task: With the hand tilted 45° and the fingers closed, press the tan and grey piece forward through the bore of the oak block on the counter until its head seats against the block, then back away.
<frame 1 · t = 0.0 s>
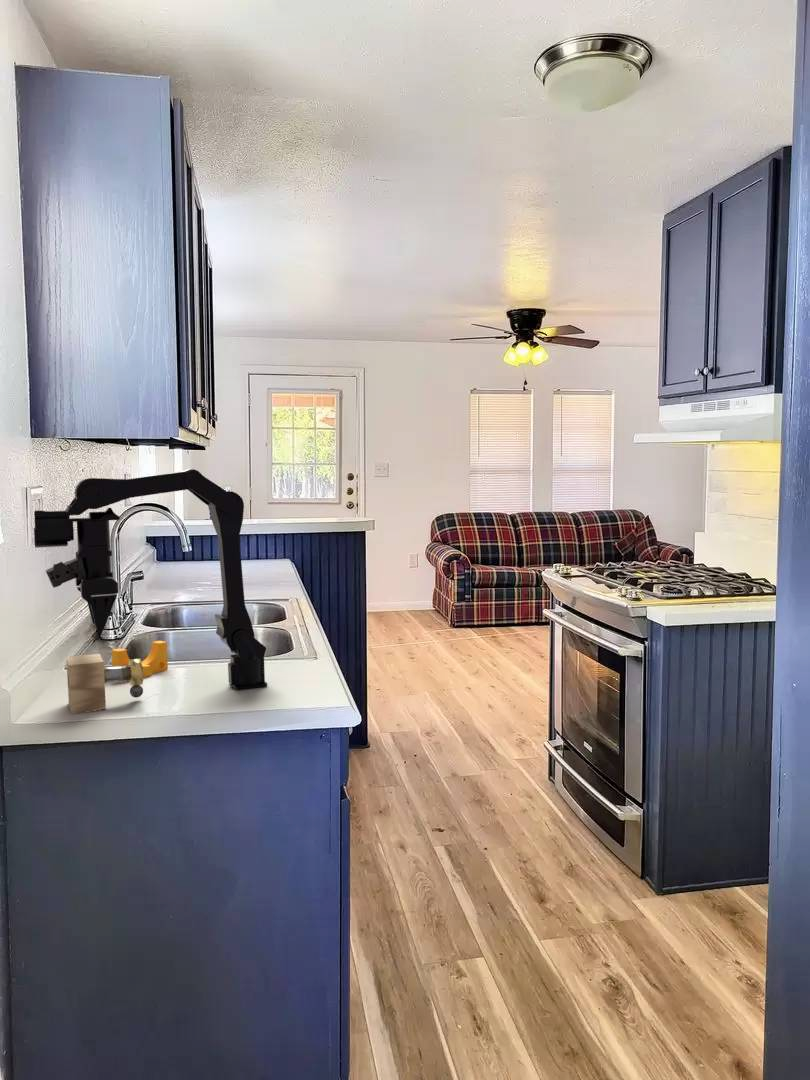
hand: (97, 627, 158), 15 cm above the counter, tool pointing down, fingers open, 9 cm apart
oak block: (87, 706, 157), on the counter
pipe clamp: (143, 676, 182), on the counter
tan and grey piece: (115, 680, 159), point 4 cm above the counter, slide at 0.0 cm
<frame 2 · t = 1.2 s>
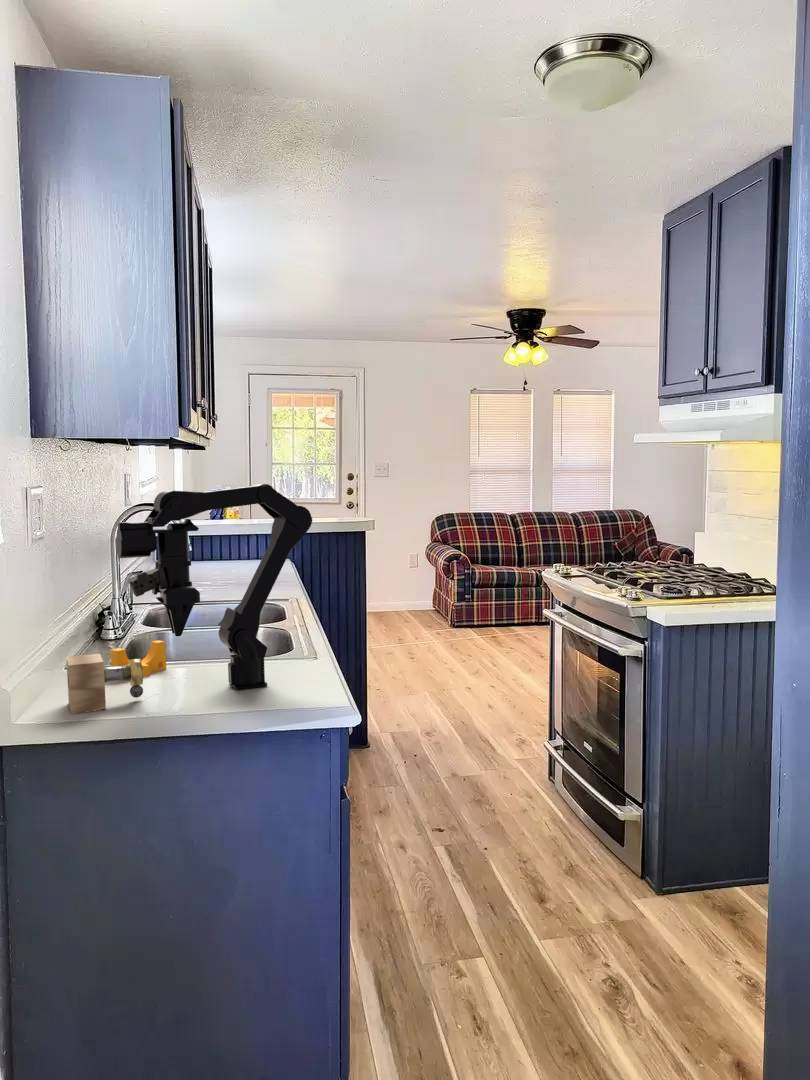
hand: (176, 634, 163), 12 cm above the counter, tool pointing down, fingers open, 3 cm apart
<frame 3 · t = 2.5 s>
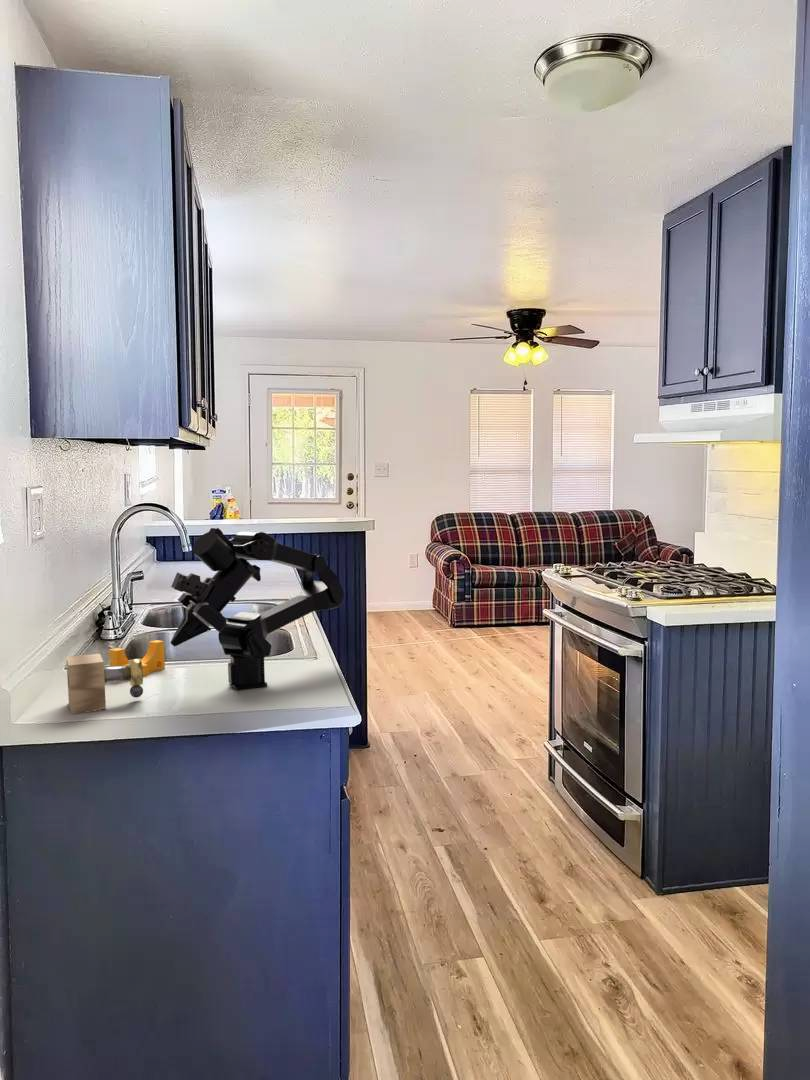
hand: (172, 644, 163), 10 cm above the counter, tool tilted 45°, fingers closed
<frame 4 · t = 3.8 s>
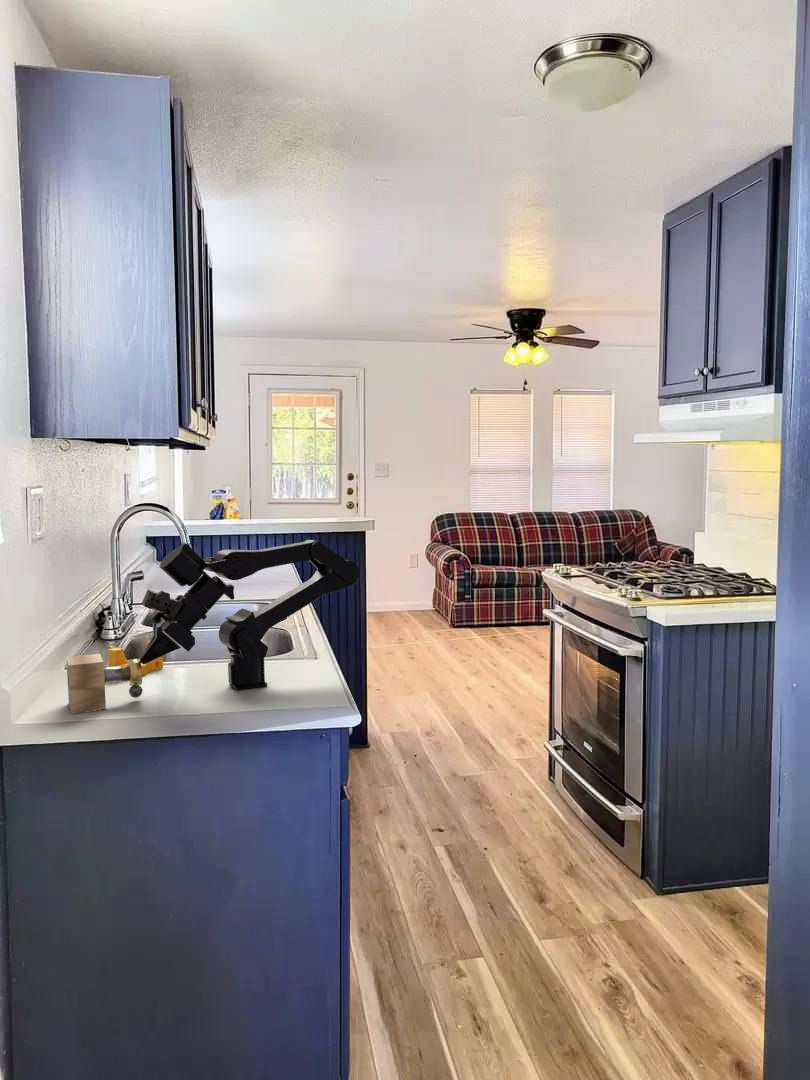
hand: (141, 662, 161), 7 cm above the counter, tool tilted 45°, fingers closed, pressing on tan and grey piece
tan and grey piece: (115, 680, 159), point 4 cm above the counter, slide at 0.2 cm, touching gripper
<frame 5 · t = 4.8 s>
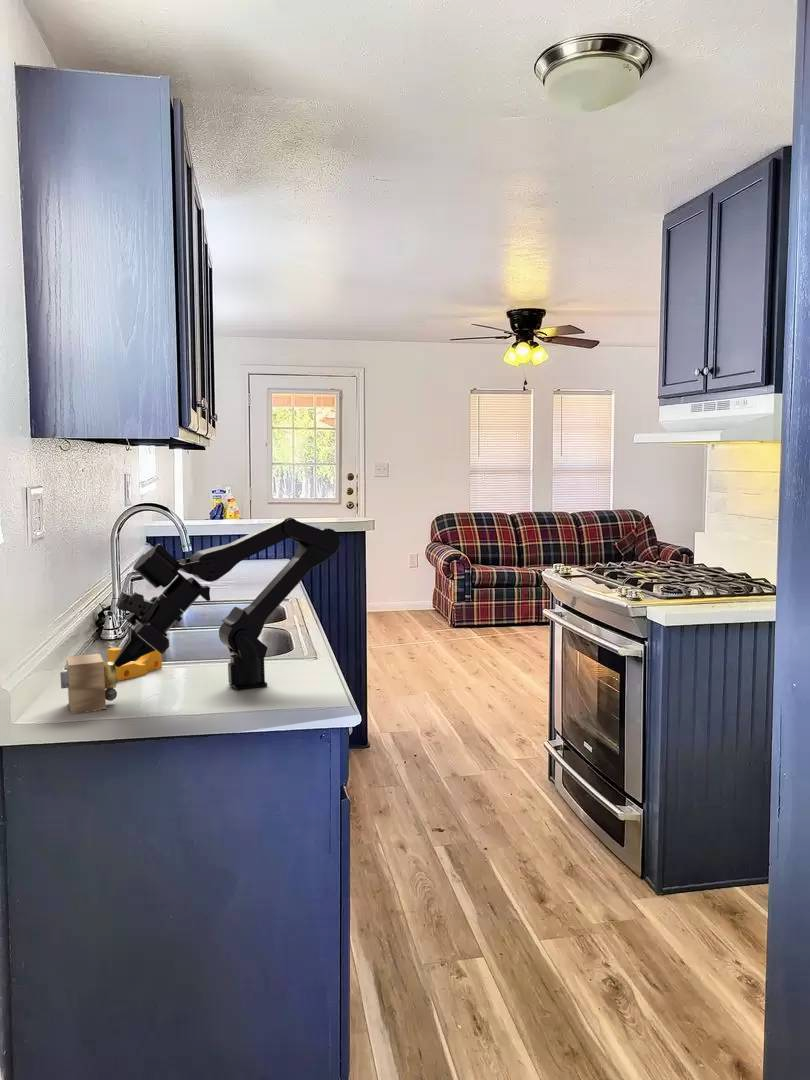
hand: (115, 665, 159), 7 cm above the counter, tool tilted 45°, fingers closed, pressing on tan and grey piece
tan and grey piece: (89, 683, 157), point 4 cm above the counter, slide at 4.8 cm, touching gripper, oak block
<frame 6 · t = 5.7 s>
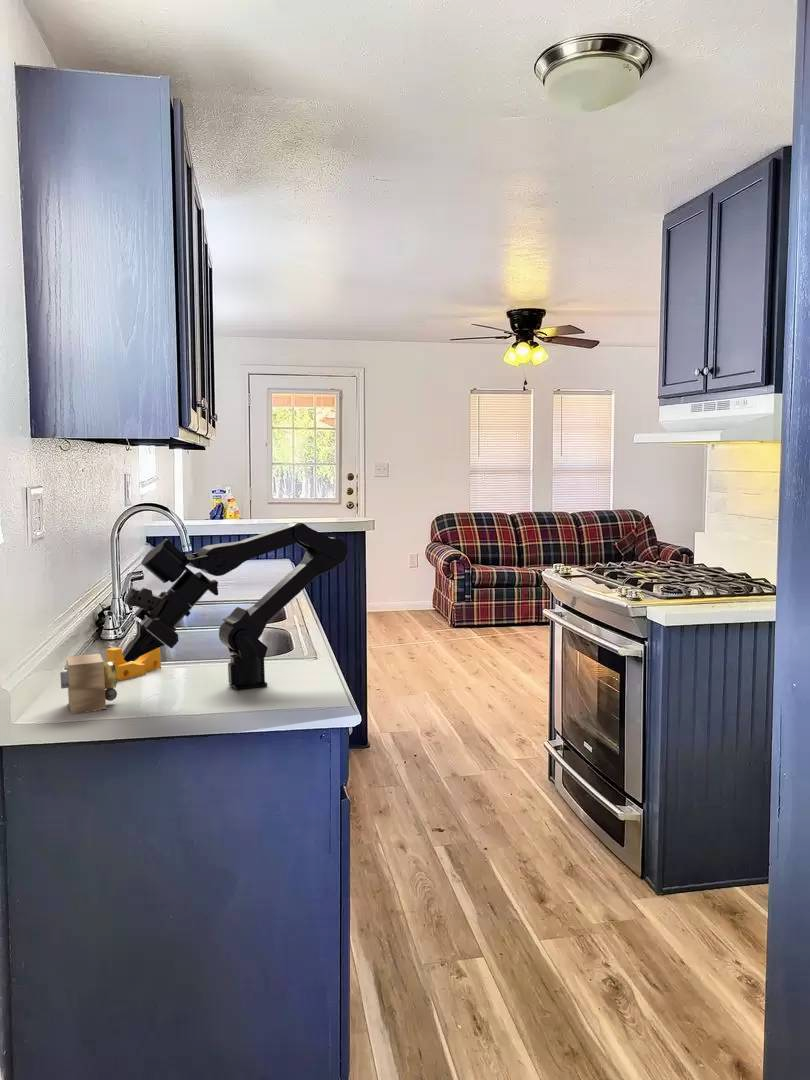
hand: (125, 660, 159), 8 cm above the counter, tool tilted 45°, fingers closed
tan and grey piece: (89, 683, 157), point 4 cm above the counter, slide at 4.8 cm, touching oak block
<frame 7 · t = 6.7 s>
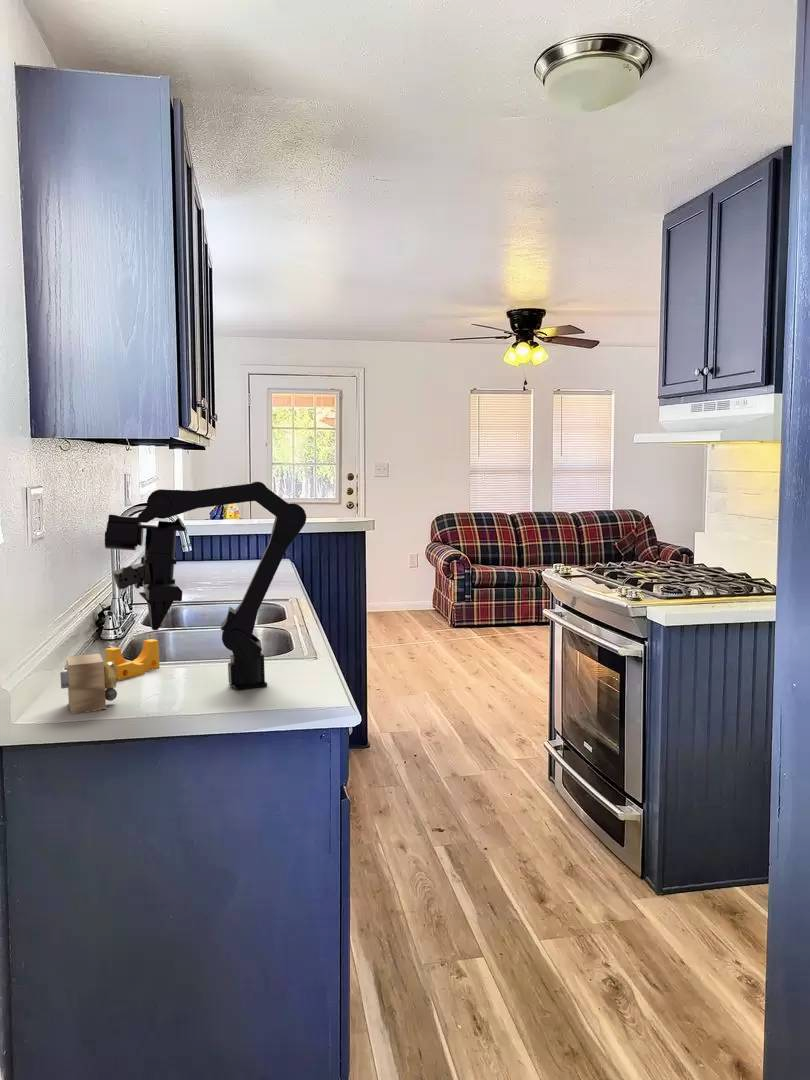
hand: (154, 629, 166), 12 cm above the counter, tool pointing down, fingers closed
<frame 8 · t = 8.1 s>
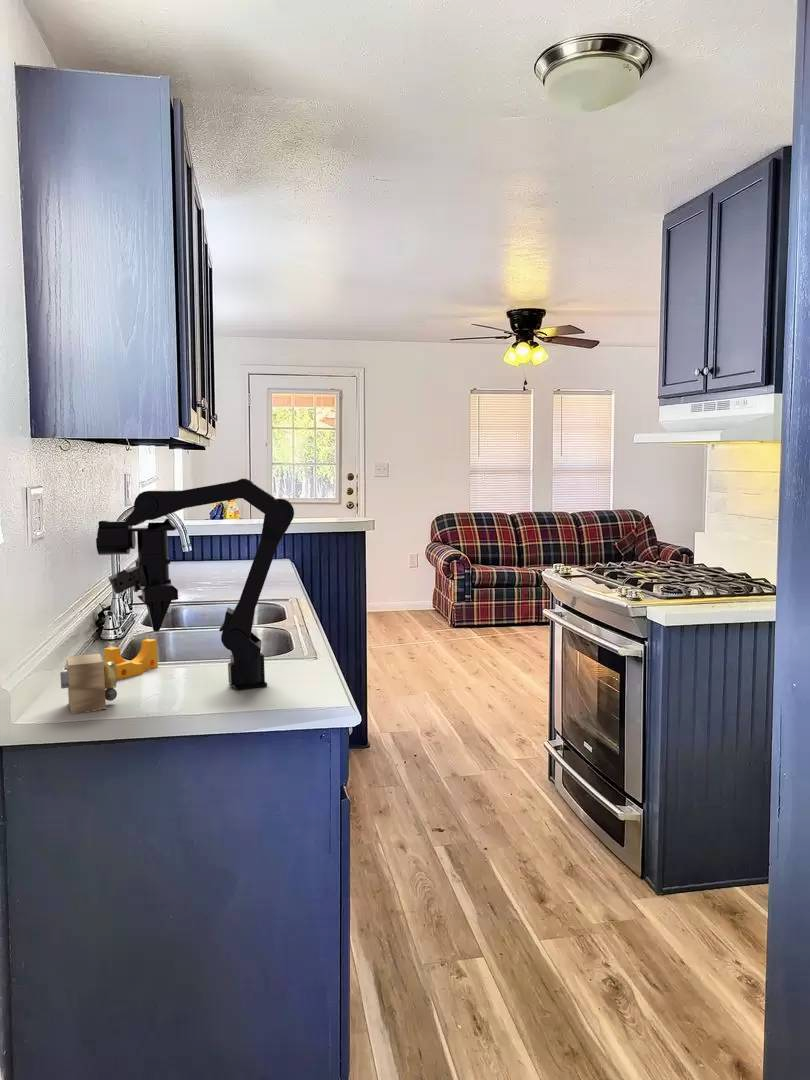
hand: (156, 631, 167), 12 cm above the counter, tool pointing down, fingers closed
at the end: tan and grey piece slide at 4.8 cm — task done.
